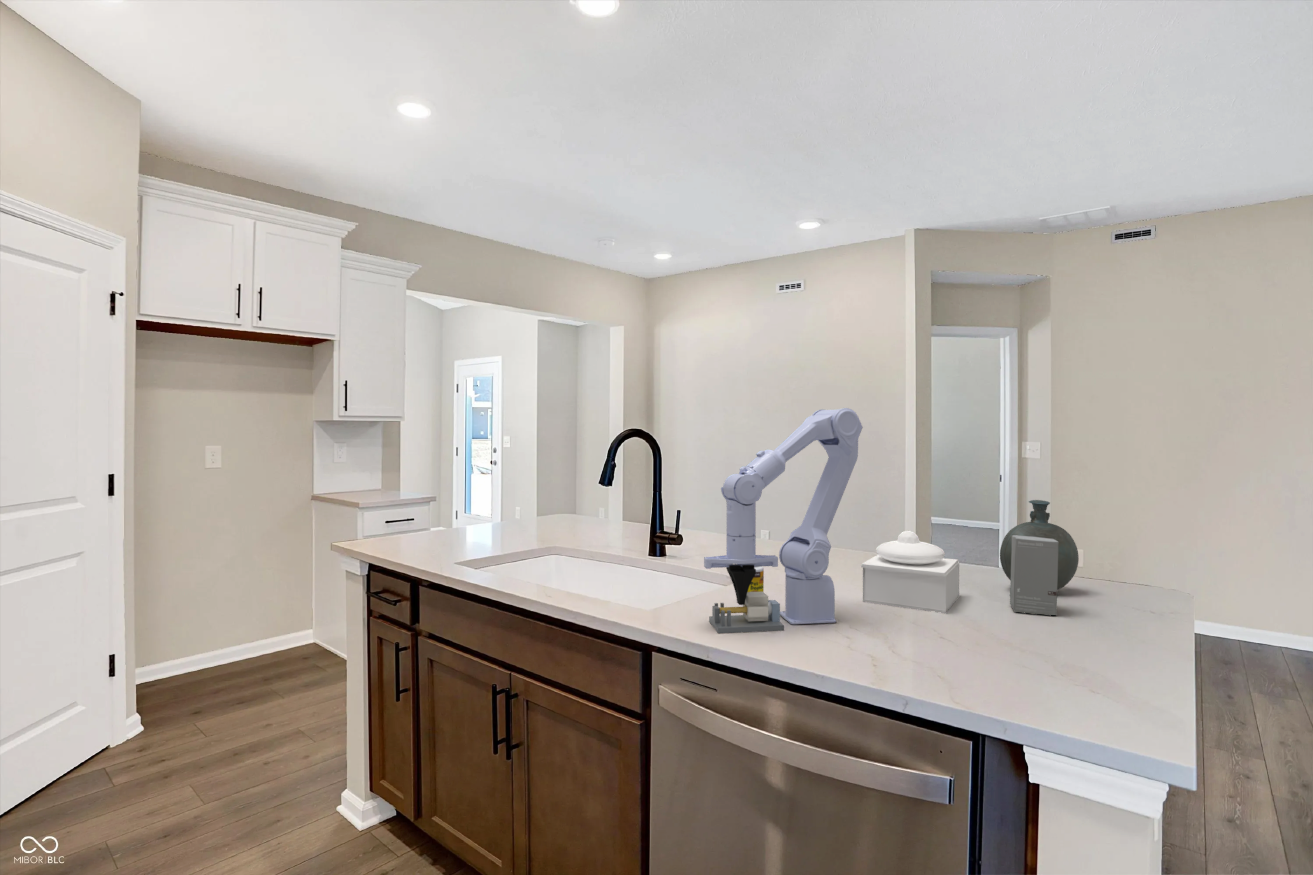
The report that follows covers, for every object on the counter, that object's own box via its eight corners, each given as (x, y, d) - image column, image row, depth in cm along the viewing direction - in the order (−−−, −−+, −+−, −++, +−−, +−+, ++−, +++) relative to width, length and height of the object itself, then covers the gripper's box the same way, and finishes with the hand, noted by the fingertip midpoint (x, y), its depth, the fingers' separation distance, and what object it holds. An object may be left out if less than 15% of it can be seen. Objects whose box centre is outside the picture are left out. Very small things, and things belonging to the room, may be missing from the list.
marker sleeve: (762, 615, 132) (762, 591, 132) (768, 620, 128) (768, 596, 128) (743, 616, 131) (743, 592, 131) (748, 621, 127) (748, 596, 127)
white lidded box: (959, 597, 153) (959, 529, 153) (945, 614, 138) (945, 539, 138) (882, 587, 162) (882, 523, 162) (861, 603, 147) (861, 532, 147)
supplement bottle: (750, 607, 143) (750, 560, 143) (733, 601, 148) (733, 556, 148) (768, 603, 146) (768, 557, 146) (752, 598, 151) (752, 554, 151)
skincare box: (1013, 613, 138) (1013, 538, 138) (1009, 605, 145) (1009, 533, 145) (1059, 617, 135) (1059, 540, 135) (1053, 608, 142) (1053, 535, 142)
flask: (1085, 601, 148) (1086, 504, 148) (1001, 594, 154) (1001, 501, 154) (1075, 589, 159) (1075, 499, 159) (996, 583, 165) (996, 496, 165)
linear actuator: (771, 618, 134) (771, 596, 134) (784, 630, 126) (784, 607, 126) (709, 621, 132) (709, 599, 132) (718, 633, 124) (718, 609, 124)
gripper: (770, 531, 134) (770, 597, 134) (700, 532, 132) (700, 599, 132) (781, 536, 127) (781, 606, 127) (708, 538, 125) (708, 608, 125)
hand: (740, 603), depth 129 cm, fingers closed
